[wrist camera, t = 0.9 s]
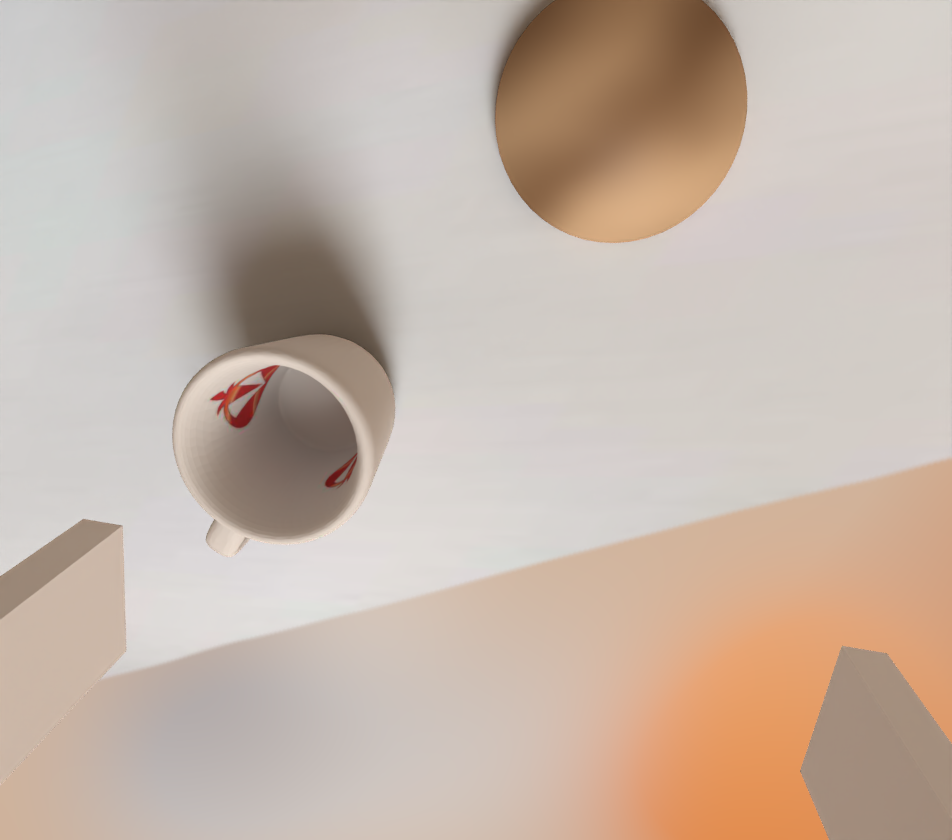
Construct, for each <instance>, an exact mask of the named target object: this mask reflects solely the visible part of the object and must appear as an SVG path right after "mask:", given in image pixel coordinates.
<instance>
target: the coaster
mask: <svg viewBox="0 0 952 840" xmlns="http://www.w3.org/2000/svg"><path fill="white" fill-rule="evenodd" d="M746 114H747V87H746V78H745V72H744V69H743V65H742V61H741V57H740V55H739V52H738V50H737V47H736V45H735V42H734V40H733V38H732V37H731V35H730V33H729V31H728V30H727V28H726V26H725V25H724V24H723V22H722V21H721V20H720V19H719V17H718V16H717V15H716V13H715V12H714V11H713V10H712V9H711V8H709V7H708V6H707V5H706V4H705V3H704V2H703V1H702V0H555V1H554V2H552V3H551V4H550V5H549V6H547V7H546V8H545V9H544V10H542V11H541V13H540V14H539V15H538V16H537V17H536V18H535V19H534V20H533V21H532V22H531V23H530V24H529V26H528V27H527V28H526V30H525V31H524V32H523V34H522V35H521V36H520V38H519V39H518V41H517V43H516V45H515V46H514V48H513V50H512V51H511V53H510V56H509V58H508V60H507V63H506V65H505V67H504V70H503V73H502V77H501V80H500V84H499V88H498V94H497V100H496V114H495V124H496V137H497V142H498V147H499V152H500V156H501V159H502V162H503V165H504V168H505V170H506V172H507V174H508V176H509V178H510V181H511V183H512V184H513V186H514V187H515V189H516V191H517V192H518V194H519V195H520V197H521V198H522V199H523V200H524V201H525V202H526V204H527V205H528V206H529V207H530V208H531V209H532V210H533V211H534V212H535V213H536V214H537V215H539V216H540V217H541V218H542V219H543V220H545V221H546V222H548V223H549V224H551V225H552V226H554V227H555V228H557V229H559V230H561V231H563V232H565V233H567V234H569V235H572V236H575V237H578V238H582V239H585V240H590V241H596V242H608V243H619V242H631V241H635V240H640V239H644V238H648V237H651V236H653V235H656V234H659V233H662V232H664V231H666V230H668V229H670V228H672V227H674V226H676V225H677V224H679V223H680V222H682V221H683V220H685V219H686V218H688V217H689V216H690V215H692V214H693V213H694V212H695V211H696V210H697V209H699V208H700V207H701V206H702V205H703V204H704V203H705V202H706V201H707V200H708V199H709V198H710V196H711V195H712V194H713V193H714V192H715V191H716V189H717V188H718V186H719V185H720V184H721V182H722V181H723V179H724V178H725V176H726V174H727V173H728V171H729V169H730V167H731V165H732V163H733V161H734V159H735V156H736V154H737V151H738V149H739V146H740V143H741V139H742V136H743V132H744V128H745V121H746Z"/></svg>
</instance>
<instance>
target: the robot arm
mask: <svg viewBox="0 0 952 840" xmlns="http://www.w3.org/2000/svg"><path fill="white" fill-rule="evenodd" d="M125 652H126V623H125V590H124V556H123V526H122V525H116V524H110V523H104V522H98V521H92V520H86V519H83V520H81V521H80V522H78V523H77V524H75V525H74V526H73V527H71V528H70V529H68V530H67V531H65V532H64V533H62V534H61V535H60V536H58V537H57V538H55V539H54V540H52V541H51V542H49V543H48V544H46V545H45V546H44V547H42V548H41V549H39V550H38V551H36V552H35V553H33V554H32V555H31V556H29V557H28V558H26V559H25V560H23V561H22V562H20V563H19V564H18V565H16V566H15V567H13V568H12V569H10V570H9V571H7V572H6V573H5V574H3V575H2V576H0V785H1V784H2V783H3V782H4V781H5V780H6V779H7V778H8V777H9V775H10V774H11V773H12V772H13V771H14V770H15V769H16V768H17V767H18V766H19V765H20V764H21V763H22V762H23V761H24V760H25V758H26V757H27V756H28V755H29V754H30V753H31V752H32V751H33V750H34V749H35V748H36V747H37V746H38V744H39V743H40V742H41V741H42V740H43V739H44V738H45V737H46V736H47V735H48V734H49V733H50V732H51V731H52V730H53V729H54V728H55V726H56V725H57V724H58V723H59V722H60V721H61V720H62V719H63V718H64V717H65V716H66V715H67V714H68V713H69V712H70V710H71V709H72V708H73V707H74V706H75V705H76V704H77V703H78V702H79V701H80V700H81V699H82V698H83V697H84V696H85V694H86V693H87V692H88V691H89V690H90V689H91V688H92V687H93V686H94V685H95V684H96V683H97V682H98V681H99V680H100V678H101V677H102V676H103V675H104V674H105V673H106V672H107V671H108V670H109V669H110V668H111V667H112V666H113V665H114V664H115V662H116V661H117V660H118V659H119V658H120V657H121V656H122V655H123V654H124V653H125ZM800 772H801V774H802V776H803V779H804V781H805V783H806V786H807V788H808V791H809V793H810V795H811V798H812V800H813V802H814V805H815V807H816V810H817V812H818V814H819V816H820V819H821V821H822V824H823V826H824V828H825V831H826V833H827V836H828V838H829V840H952V744H951V742H950V741H949V739H948V738H947V737H946V735H945V734H944V732H943V731H942V730H941V728H940V727H939V726H938V724H937V723H936V721H935V720H934V718H933V717H932V716H931V714H930V713H929V712H928V710H927V709H926V707H925V706H924V705H923V703H922V702H921V700H920V699H919V698H918V696H917V695H916V693H915V692H914V691H913V689H912V688H911V687H910V685H909V684H908V682H907V681H906V680H905V678H904V677H903V675H902V674H901V673H900V671H899V670H898V669H897V667H896V666H895V664H894V663H893V661H892V660H891V659H890V657H889V656H888V654H887V653H881V652H875V651H869V650H863V649H857V648H851V647H845V646H842V648H841V650H840V653H839V656H838V659H837V662H836V665H835V668H834V671H833V674H832V677H831V680H830V683H829V686H828V689H827V692H826V696H825V698H824V701H823V704H822V707H821V710H820V713H819V716H818V719H817V722H816V725H815V728H814V731H813V734H812V737H811V740H810V743H809V747H808V749H807V752H806V755H805V758H804V761H803V764H802V767H801V770H800Z"/></svg>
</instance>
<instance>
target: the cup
mask: <svg viewBox="0 0 952 840" xmlns="http://www.w3.org/2000/svg"><path fill="white" fill-rule="evenodd" d="M394 419H395V399H394V394H393V390H392V386H391V383H390V381H389V379H388V377H387V375H386V373H385V371H384V369H383V368H382V366H381V365H380V364H379V363H378V361H377V360H376V359H375V358H374V357H373V356H372V355H371V354H370V353H369V352H367V351H366V350H365V349H363V348H362V347H360V346H359V345H357V344H355V343H354V342H351V341H349V340H347V339H344V338H341V337H337V336H332V335H325V334H312V335H303V336H297V337H292V338H288V339H283V340H278V341H273V342H268V343H263V344H258V345H253V346H248V347H244V348H239V349H236V350H233V351H230V352H228V353H225V354H223V355H221V356H219V357H217V358H216V359H214V360H212V361H211V362H209V363H208V364H207V365H205V366H204V367H203V368H202V369H201V370H200V371H199V372H198V373H197V374H196V375H195V376H194V377H193V378H192V379H191V381H190V382H189V383H188V384H187V386H186V388H185V389H184V391H183V393H182V395H181V397H180V399H179V402H178V405H177V408H176V411H175V416H174V421H173V433H172V439H173V449H174V455H175V459H176V463H177V466H178V469H179V471H180V474H181V476H182V479H183V481H184V483H185V485H186V486H187V488H188V489H189V491H190V493H191V494H192V496H193V497H194V498H195V500H196V501H197V502H198V503H199V505H200V506H201V507H202V508H203V509H204V510H205V511H206V512H207V513H208V514H209V515H210V516H211V517H213V518H214V521H213V523H212V524H211V526H210V529H209V531H208V533H207V536H206V542H207V544H208V545H209V547H210V548H212V549H213V550H214V551H216V552H217V553H219V554H221V555H223V556H226V557H232V556H234V555H236V554H237V553H238V552H239V551H240V550H241V549H242V548H243V546H244V545H245V544H246V543H247V542H248V541H249V540H250V539H252V540H256V541H259V542H264V543H270V544H284V545H287V544H299V543H305V542H309V541H312V540H315V539H318V538H321V537H323V536H326V535H327V534H329V533H331V532H333V531H334V530H336V529H337V528H339V527H340V526H341V525H343V524H344V523H345V522H346V521H348V520H349V519H350V518H351V516H352V515H353V514H354V513H355V512H356V511H357V509H358V508H359V507H360V505H361V504H362V502H363V501H364V499H365V497H366V495H367V493H368V491H369V489H370V486H371V484H372V481H373V479H374V476H375V474H376V471H377V469H378V466H379V464H380V461H381V459H382V456H383V454H384V451H385V449H386V446H387V444H388V441H389V438H390V435H391V433H392V429H393V425H394Z"/></svg>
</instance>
